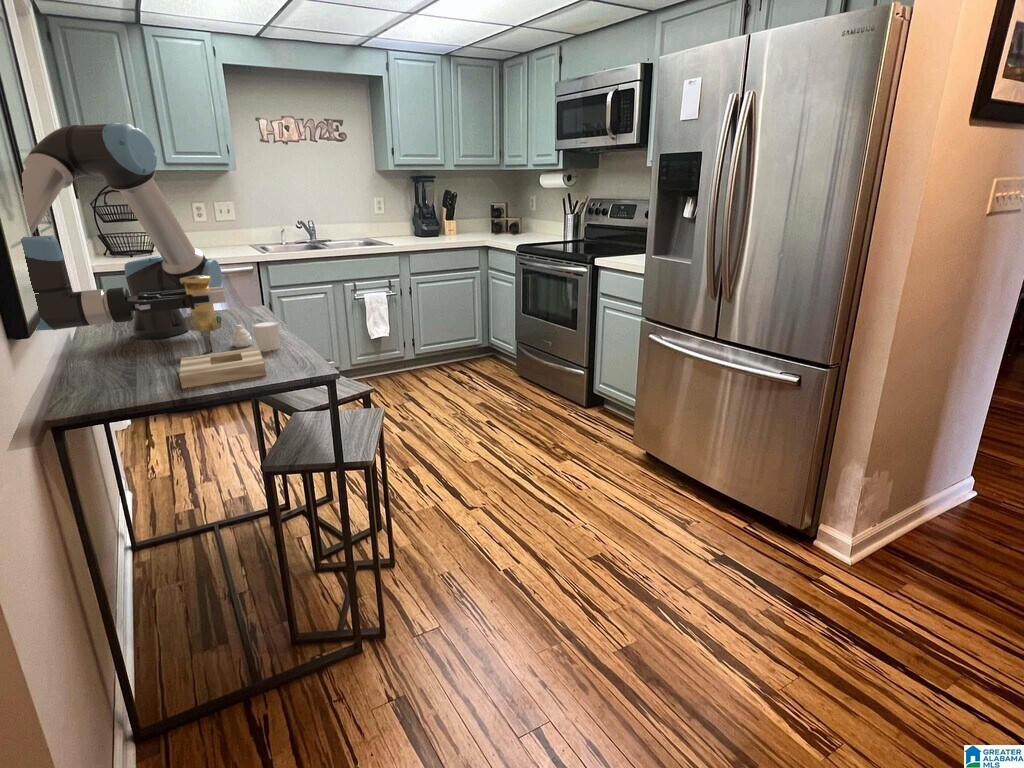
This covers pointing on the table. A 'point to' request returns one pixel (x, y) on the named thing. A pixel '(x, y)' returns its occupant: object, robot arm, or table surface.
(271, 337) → the white cup
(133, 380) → the table surface
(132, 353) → the table surface
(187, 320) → the mechanical component
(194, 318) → the brass sleeve
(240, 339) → the garlic bulb
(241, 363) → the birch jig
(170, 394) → the table surface
